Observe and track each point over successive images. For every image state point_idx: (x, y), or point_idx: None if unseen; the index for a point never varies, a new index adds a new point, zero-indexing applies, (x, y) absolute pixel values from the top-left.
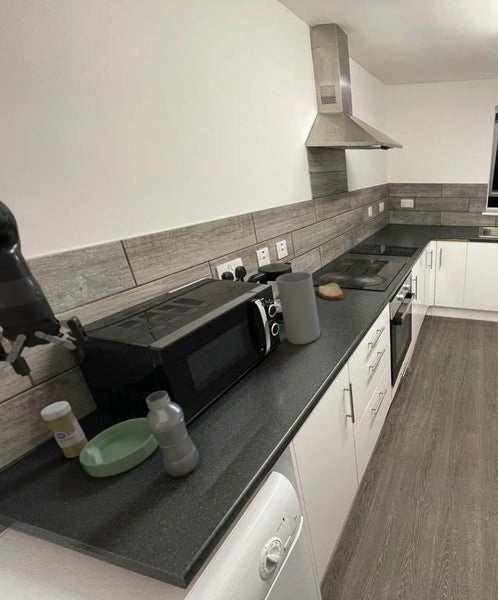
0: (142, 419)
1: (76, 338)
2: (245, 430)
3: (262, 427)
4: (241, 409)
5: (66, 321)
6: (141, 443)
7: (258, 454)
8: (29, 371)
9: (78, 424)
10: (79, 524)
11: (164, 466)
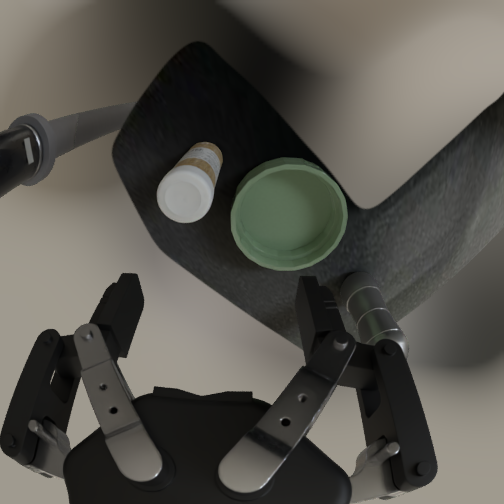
0: (325, 179)
1: (363, 408)
2: (426, 256)
3: (439, 261)
4: (441, 208)
5: (377, 494)
6: (310, 207)
7: (416, 298)
8: (137, 283)
9: (216, 171)
10: (249, 303)
11: (342, 298)
